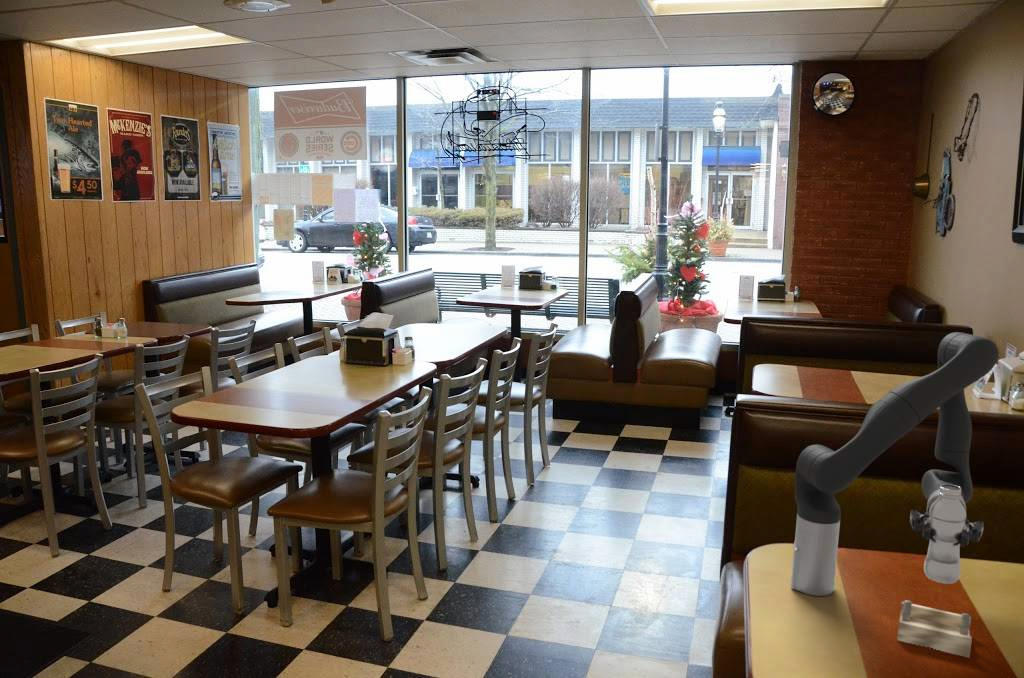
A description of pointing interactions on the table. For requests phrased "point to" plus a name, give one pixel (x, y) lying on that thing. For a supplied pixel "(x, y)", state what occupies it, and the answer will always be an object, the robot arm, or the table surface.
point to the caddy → (935, 629)
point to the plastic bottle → (945, 536)
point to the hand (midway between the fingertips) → (945, 538)
